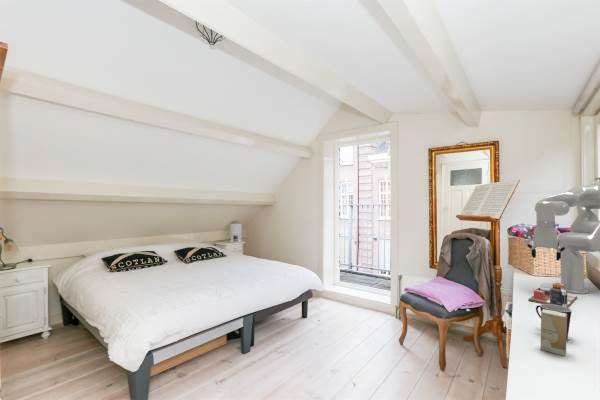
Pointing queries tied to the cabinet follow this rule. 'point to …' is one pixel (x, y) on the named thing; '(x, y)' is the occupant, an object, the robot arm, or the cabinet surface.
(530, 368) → the cabinet surface
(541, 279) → the cabinet surface
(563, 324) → the skincare box
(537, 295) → the red die
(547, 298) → the game board
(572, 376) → the cabinet surface
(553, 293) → the pill bottle
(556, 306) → the coffee mug
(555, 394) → the cabinet surface
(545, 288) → the dome
